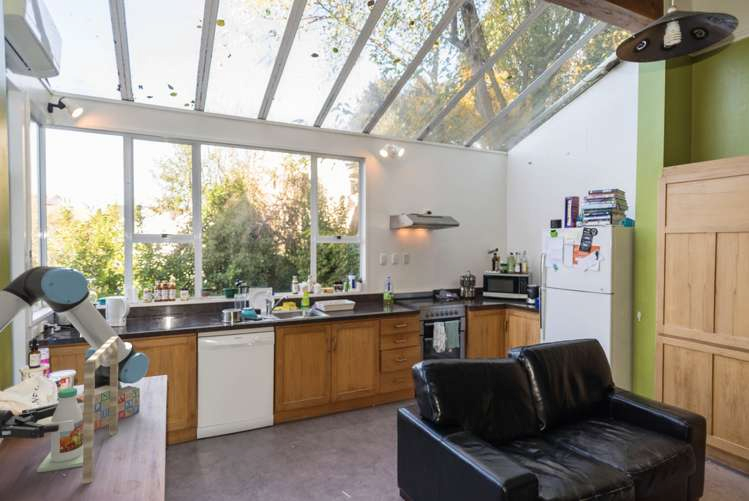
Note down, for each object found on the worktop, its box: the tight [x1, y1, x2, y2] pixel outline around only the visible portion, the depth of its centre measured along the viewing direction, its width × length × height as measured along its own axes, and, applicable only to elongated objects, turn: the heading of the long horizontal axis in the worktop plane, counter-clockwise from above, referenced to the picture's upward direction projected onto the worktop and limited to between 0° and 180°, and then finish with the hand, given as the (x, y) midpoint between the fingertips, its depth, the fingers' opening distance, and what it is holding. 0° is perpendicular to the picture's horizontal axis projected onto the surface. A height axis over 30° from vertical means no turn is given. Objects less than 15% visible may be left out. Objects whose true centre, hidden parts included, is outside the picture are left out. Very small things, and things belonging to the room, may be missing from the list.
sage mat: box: [36, 451, 83, 473], centre depth 124 cm, size 11×11×1 cm
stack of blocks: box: [76, 385, 141, 431], centre depth 151 cm, size 21×6×12 cm, turn 158°
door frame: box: [82, 335, 120, 485], centre depth 127 cm, size 32×2×33 cm, turn 21°
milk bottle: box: [50, 387, 83, 462], centre depth 124 cm, size 8×8×20 cm
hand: (80, 415), depth 125 cm, fingers open, 13 cm apart
